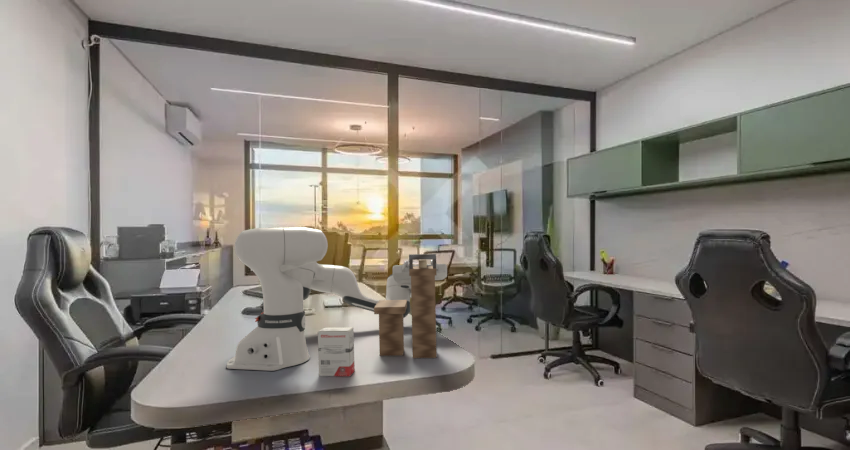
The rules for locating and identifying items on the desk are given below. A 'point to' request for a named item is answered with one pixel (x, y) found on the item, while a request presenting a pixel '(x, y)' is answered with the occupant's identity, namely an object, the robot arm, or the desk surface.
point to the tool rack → (421, 314)
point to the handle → (422, 263)
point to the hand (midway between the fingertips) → (419, 262)
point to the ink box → (336, 351)
